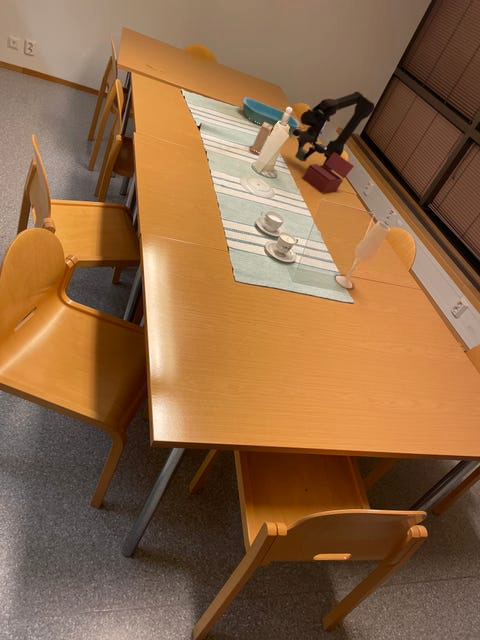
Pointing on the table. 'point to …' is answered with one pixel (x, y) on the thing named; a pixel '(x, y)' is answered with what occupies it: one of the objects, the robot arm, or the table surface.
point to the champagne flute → (366, 249)
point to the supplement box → (261, 137)
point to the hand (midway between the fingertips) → (301, 156)
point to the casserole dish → (265, 114)
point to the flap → (339, 165)
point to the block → (301, 154)
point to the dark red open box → (322, 178)
